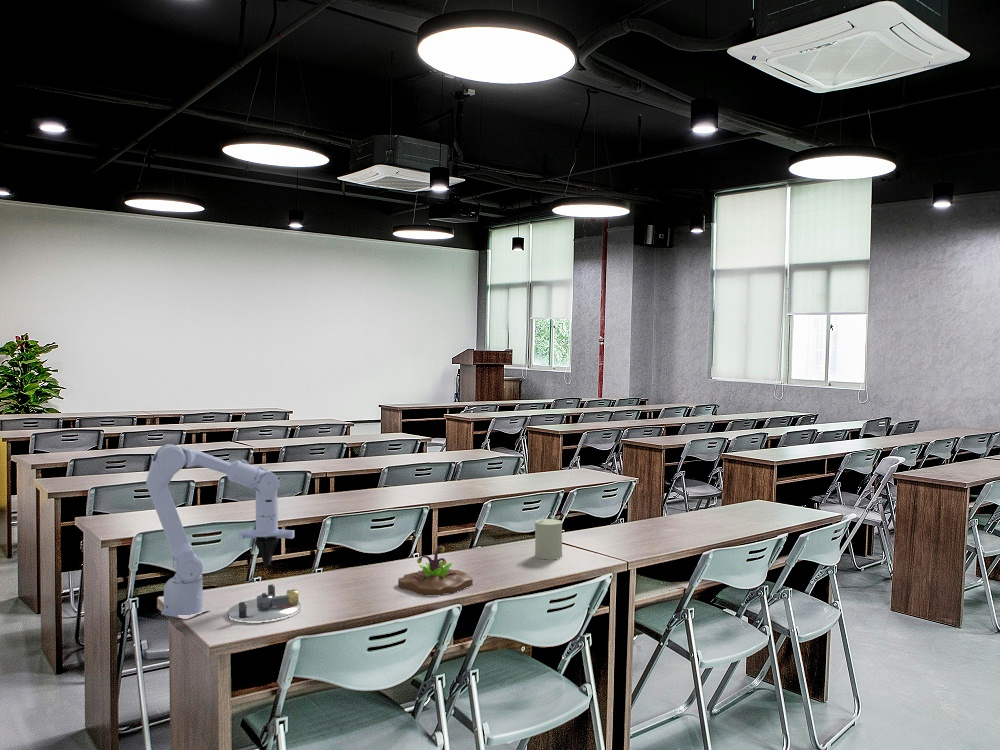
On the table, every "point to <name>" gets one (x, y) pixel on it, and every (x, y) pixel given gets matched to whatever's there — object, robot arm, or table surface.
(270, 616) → the crank base
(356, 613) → the table surface
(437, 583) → the plant
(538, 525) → the can
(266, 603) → the crank
